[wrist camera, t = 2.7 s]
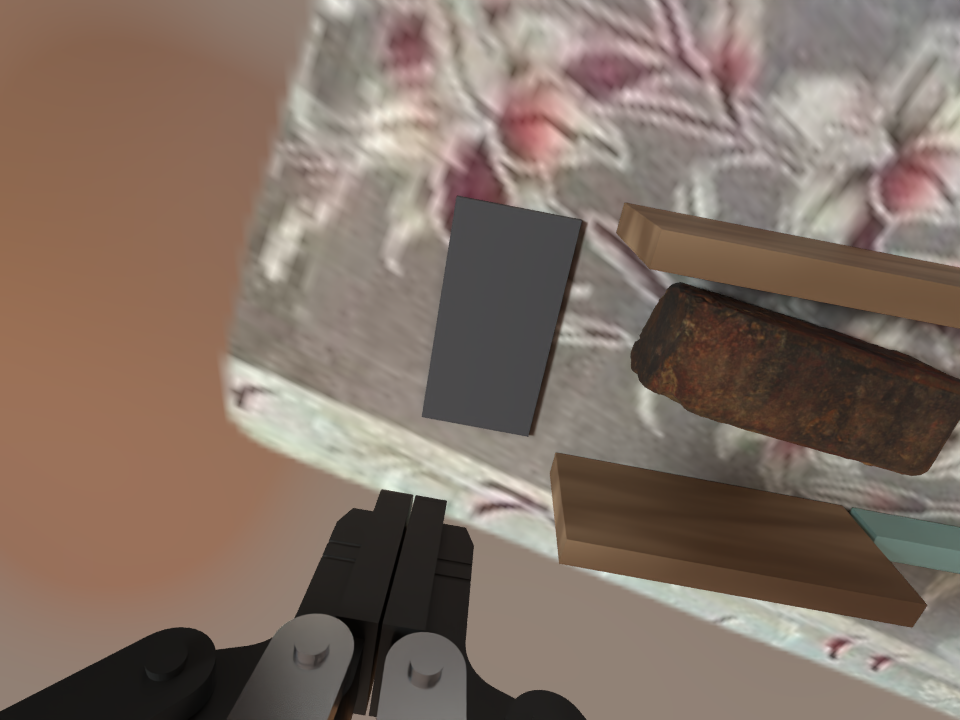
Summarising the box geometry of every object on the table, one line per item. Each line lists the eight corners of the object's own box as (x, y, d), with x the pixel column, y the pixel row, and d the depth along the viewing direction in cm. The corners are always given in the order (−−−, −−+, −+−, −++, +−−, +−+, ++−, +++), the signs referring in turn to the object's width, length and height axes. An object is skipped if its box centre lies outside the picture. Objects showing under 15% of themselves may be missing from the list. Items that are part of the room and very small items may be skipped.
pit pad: (457, 195, 22) (456, 196, 22) (581, 219, 22) (581, 220, 22) (422, 413, 26) (421, 416, 26) (528, 433, 26) (528, 436, 26)
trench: (624, 202, 22) (661, 229, 16) (970, 269, 22) (1121, 318, 17) (549, 473, 27) (559, 563, 21) (831, 525, 27) (912, 627, 22)
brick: (891, 345, 23) (990, 388, 19) (843, 427, 25) (925, 485, 20) (659, 271, 22) (706, 299, 18) (621, 361, 23) (656, 409, 19)
